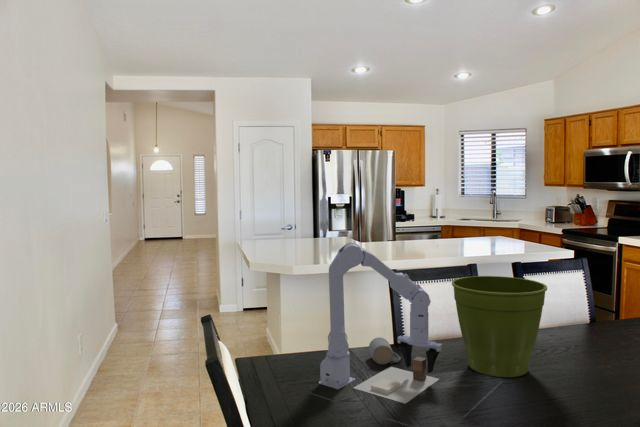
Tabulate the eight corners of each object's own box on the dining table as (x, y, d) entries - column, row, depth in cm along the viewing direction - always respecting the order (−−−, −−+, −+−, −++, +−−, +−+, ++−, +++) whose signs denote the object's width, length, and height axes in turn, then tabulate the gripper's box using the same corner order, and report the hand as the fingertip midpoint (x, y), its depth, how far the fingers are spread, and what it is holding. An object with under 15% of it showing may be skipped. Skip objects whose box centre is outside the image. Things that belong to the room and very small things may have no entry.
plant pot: (551, 391, 148) (552, 295, 146) (448, 379, 157) (448, 290, 156) (541, 357, 176) (542, 277, 174) (454, 349, 185) (454, 273, 184)
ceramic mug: (372, 366, 170) (373, 344, 169) (368, 358, 178) (368, 337, 178) (403, 365, 171) (403, 343, 170) (397, 357, 179) (397, 336, 178)
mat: (405, 404, 140) (405, 403, 140) (352, 389, 151) (352, 387, 151) (439, 380, 157) (439, 378, 157) (390, 367, 168) (390, 366, 168)
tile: (400, 386, 152) (388, 394, 146) (383, 382, 155) (370, 389, 150) (400, 382, 152) (388, 390, 146) (383, 378, 155) (370, 385, 150)
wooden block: (421, 381, 155) (421, 361, 155) (413, 379, 157) (413, 359, 157) (426, 378, 158) (426, 358, 157) (417, 376, 159) (417, 356, 159)
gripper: (446, 327, 155) (446, 370, 156) (405, 320, 164) (405, 360, 165) (436, 333, 149) (436, 377, 150) (394, 325, 158) (394, 366, 159)
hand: (419, 369), depth 157 cm, fingers open, 7 cm apart
